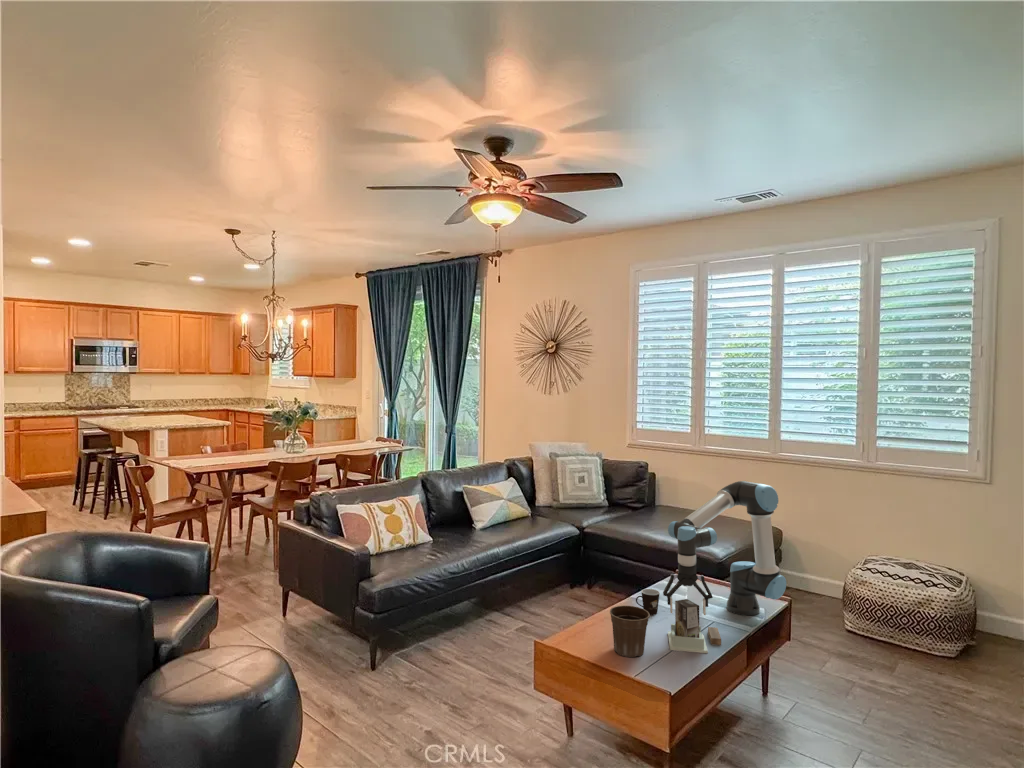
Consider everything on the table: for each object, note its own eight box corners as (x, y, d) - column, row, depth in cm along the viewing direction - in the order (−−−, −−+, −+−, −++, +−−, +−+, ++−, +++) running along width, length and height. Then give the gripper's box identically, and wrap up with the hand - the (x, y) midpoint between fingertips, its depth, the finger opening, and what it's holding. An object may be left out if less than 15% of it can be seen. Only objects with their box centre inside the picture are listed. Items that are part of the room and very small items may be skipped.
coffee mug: (658, 609, 297) (658, 589, 297) (660, 616, 288) (660, 595, 288) (634, 608, 298) (634, 588, 298) (636, 615, 289) (636, 594, 289)
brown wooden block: (717, 634, 268) (717, 627, 268) (721, 645, 257) (721, 638, 257) (708, 633, 269) (708, 626, 269) (711, 645, 257) (711, 638, 257)
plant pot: (649, 645, 257) (649, 607, 257) (649, 662, 241) (649, 621, 241) (610, 641, 260) (610, 603, 260) (608, 657, 245) (608, 617, 245)
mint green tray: (703, 636, 265) (703, 624, 265) (707, 653, 249) (707, 641, 249) (667, 633, 268) (667, 622, 268) (670, 650, 252) (670, 638, 252)
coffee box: (700, 644, 255) (700, 605, 255) (686, 646, 253) (687, 607, 253) (687, 635, 264) (687, 598, 264) (674, 637, 262) (674, 600, 262)
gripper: (716, 562, 260) (717, 611, 260) (656, 559, 265) (657, 608, 265) (718, 567, 252) (719, 618, 253) (657, 564, 257) (658, 614, 258)
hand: (687, 613), depth 259 cm, fingers open, 13 cm apart
